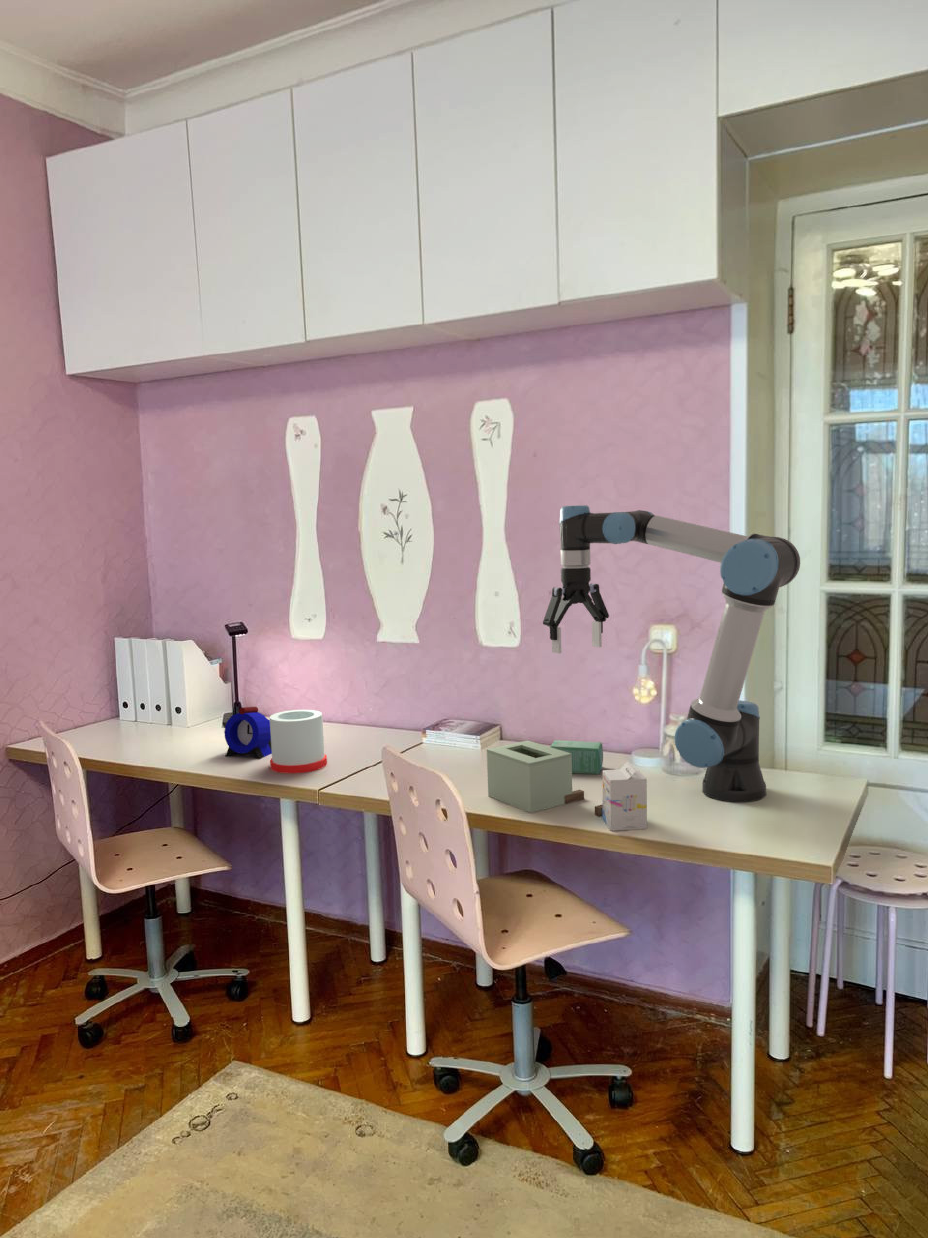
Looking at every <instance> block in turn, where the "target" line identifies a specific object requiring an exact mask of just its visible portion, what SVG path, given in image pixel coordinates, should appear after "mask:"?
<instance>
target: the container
mask: <svg viewBox="0 0 928 1238" xmlns="http://www.w3.org/2000/svg"><path fill="white" fill-rule="evenodd" d="M269 720H270V732H271V748H272V754H271V759H270V761H269V764H270V765H269V766H270V769H271V771H273V772H275V773H280V774H302V773H310V772H314V771H318V770H320V769H321V770H322V769H323V768H324V767H326V766H327V765H328V757H327V754H326V753H325V743H324V742H325V740H324V738H325V737H324V721H323V720H324V719H323V713H322V712H321V711H319V710H317V709H316V710H314V709H292V710H284V711H280V712H275V713H273V714H270V716H269Z"/></svg>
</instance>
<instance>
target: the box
mask: <svg viewBox="0 0 928 1238" xmlns="http://www.w3.org/2000/svg"><path fill="white" fill-rule="evenodd" d="M549 747H551V748H555V749H558V750H561V751H565V752H568V753H571V754H572V774H584V775H585V774H586V775H587V774H589V775H599V774H600V772H601V770H602V768H603V763H604V748H603V743H602V742H599V741H580V740H560V739H559V740H557V739H554V740H553V742H552V743H551V745H550V746H549Z"/></svg>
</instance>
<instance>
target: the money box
mask: <svg viewBox="0 0 928 1238" xmlns="http://www.w3.org/2000/svg"><path fill="white" fill-rule="evenodd" d="M531 755H535V756H538V757H539V758H534V757H531ZM486 766H487V767H486V768H487V795H488V797H490V798H493V799H495V800H497V801H500V802H502V803H505V804H507V805H510V806H512V807H515V808H517V809H520V810H522V811H524V812H528V813H529V814H531V813H532V814H533V813H535V812H539V811H543V810H547V809H550V808H554V807H557V806H562V805H566V804H565V795H569V794H572V791H573V773H572V754H571V753H568V752H565V751H561V750H558V749H555V748H551V747H550V746H547V745H544V744H541V743H538V742H534V741H530V740H524V741H520V742H519V741H518V742H515V743H509V744H506V745H501V746H496V747H491V748H487V749H486Z"/></svg>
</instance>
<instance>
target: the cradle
mask: <svg viewBox="0 0 928 1238" xmlns="http://www.w3.org/2000/svg"><path fill="white" fill-rule="evenodd" d="M581 800H585V790H582V789H576V790H572V794H569V795H565V804H564V805H567V804H571V803H573V802H579V801H581ZM594 815H595V816H597V817H599V818H600V817H603V803H602V804H600V805H595V806H594Z"/></svg>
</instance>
